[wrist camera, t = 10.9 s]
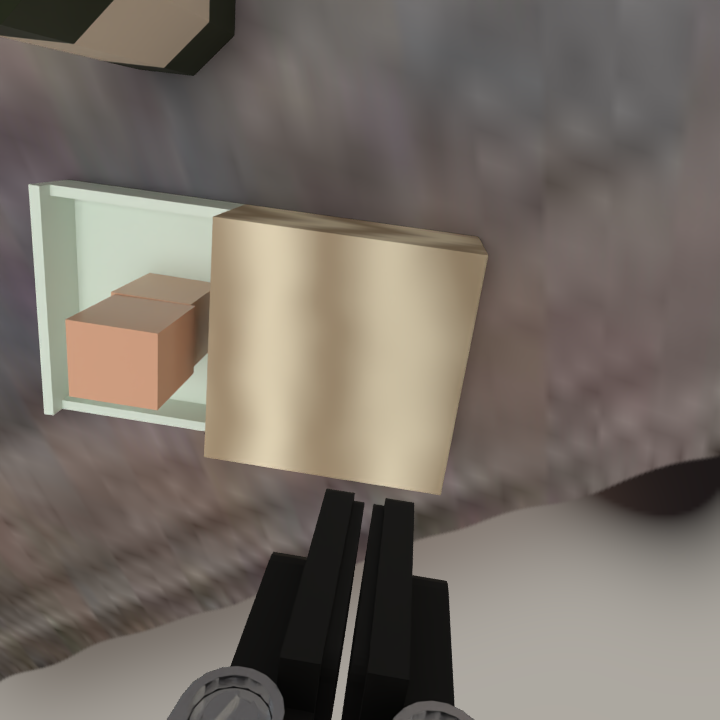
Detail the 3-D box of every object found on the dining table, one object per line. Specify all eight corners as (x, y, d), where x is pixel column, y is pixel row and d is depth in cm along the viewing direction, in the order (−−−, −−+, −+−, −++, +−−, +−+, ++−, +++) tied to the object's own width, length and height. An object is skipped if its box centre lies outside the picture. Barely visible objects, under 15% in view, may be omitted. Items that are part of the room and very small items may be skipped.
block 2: (157, 333, 28) (65, 319, 29) (157, 410, 30) (69, 396, 30) (195, 305, 33) (115, 293, 33) (193, 373, 34) (116, 361, 35)
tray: (245, 204, 36) (224, 212, 33) (234, 413, 41) (214, 441, 38) (68, 179, 37) (28, 184, 33) (78, 389, 42) (44, 413, 38)
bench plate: (478, 236, 36) (488, 255, 30) (438, 445, 41) (440, 495, 35) (245, 204, 36) (212, 216, 31) (234, 413, 41) (204, 456, 36)
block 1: (190, 304, 33) (110, 291, 33) (188, 372, 34) (111, 359, 35) (219, 283, 38) (149, 272, 38) (216, 344, 39) (148, 333, 39)
